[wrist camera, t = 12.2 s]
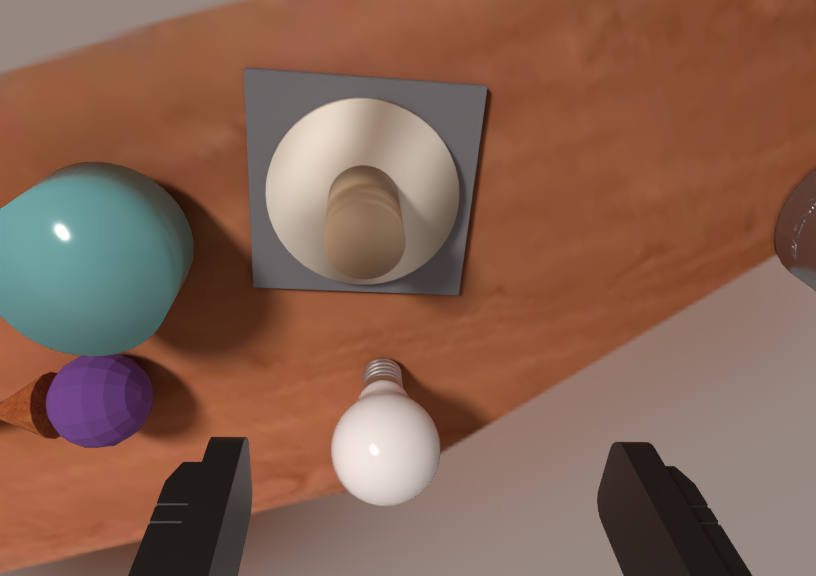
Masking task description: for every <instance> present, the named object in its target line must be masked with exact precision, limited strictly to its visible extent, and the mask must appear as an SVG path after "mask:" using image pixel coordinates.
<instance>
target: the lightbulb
mask: <svg viewBox="0 0 816 576" xmlns="http://www.w3.org/2000/svg"><path fill="white" fill-rule="evenodd" d="M362 376H363V391H362V393H361V394H360V396H359V399H358V401H357V402H355V403H354V404H353V405H352V406H350V407H349V408H348V409H347V410H346V411H345V413H344V414H343V415H342V417H341V418H340V420H339V421H338V423H337V425H336V428H335V430H334V433H333V437H332V443H331V457H332V463H333V467H334V470H335V472H336V474H337V477H338V478H339V480H340V482H341V483H342V485H343V486H344V487H345V488H346V489H347V490H348V491H349V492H350V493H351V494H352V495H353V496H355V497H357V498H358V499H360V500H362V501H364V502H366V503H369V504H372V505H378V506H393V505H398V504H402V503H404V502H407V501H409V500H411V499H413V498H414V497H416V496H417V495H418V494H420V493H421V492H422V491H423V490H424V489H425V488H426V487H427V486H428V484H429V483H430V482H431V480H432V478H433V477H434V475H435V472H436V470H437V467H438V463H439V459H440V439H439V434H438V431H437V428H436V426H435V423H434V422H433V420H432V418H431V417H430V415H429V414H428V413H427V411H426V410H425V409H424V408H423V407H422V406H421V405H419V404H418V403H417V402H415V401H414V400H412V399H410V398H409V397H408V395H407V393H406V392H405V390H404V389H403V383H402V374H401V369H400V367H399V365H398V364H397V363H395V362H394V361H392V360H389V359H383V358H382V359H376V360H373V361H371V362H369V363H368V364H367V365H366V366H365V368H364V370H363V374H362Z"/></svg>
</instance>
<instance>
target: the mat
mask: <svg viewBox="0 0 816 576" xmlns="http://www.w3.org/2000/svg"><path fill="white" fill-rule="evenodd" d="M244 86H245V109H246V132H247V155H248V178H249V201H250V223H251V246H252V269H253V287H254V288H280V289H307V290H333V291H359V292H386V293H412V294H438V295H459V289H460V282H461V275H462V267H463V260H464V253H465V246H466V238H467V231H468V224H469V217H470V209H471V202H472V195H473V188H474V181H475V173H476V166H477V159H478V152H479V144H480V137H481V130H482V123H483V116H484V108H485V101H486V94H487V86H486V85H479V84H465V83H451V82H438V81H424V80H410V79H397V78H383V77H370V76H356V75H342V74H329V73H315V72H301V71H288V70H274V69H261V68H247V67H246V68H244ZM352 97H371V98H378V99H383V100H387V101H391V102H394V103H397V104H399V105H401V106H404V107H406V108H408V109H409V110H411V111H413V112H414V113H416V114H418V115H419V116H420V117H422V118H423V119H424V120H425V121H427V122H428V123H429V124H430V125H431V126H432V127H433V129H434V130H435V131H436V132H437V133H438V134H439V136H440V137H441V139H442V140H443V141H444V143H445V145H446V147H447V149H448V151H449V153H450V155H451V157H452V160H453V162H454V165H455V168H456V171H457V176H458V181H459V206H458V211H457V216H456V219H455V222H454V225H453V228H452V230H451V232H450V234H449V236H448V238H447V239H446V241H445V242H444V244H443V245H442V247H441V248H440V249H439V250H438V251H437V253H436V254H435V255H434V256H433V257H432V258H431V259H430V260H428V261H427V262H426V263H425V264H424V265H422V266H421V267H419V268H418V269H416V270H415V271H413V272H411V273H409V274H407V275H405V276H403V277H400V278H398V279H395V280H392V281H388V282H384V283H377V284H362V285H359V284H349V283H344V282H339V281H335V280H332V279H329V278H326V277H324V276H322V275H320V274H317V273H315V272H314V271H312V270H310V269H309V268H307V267H306V266H304V265H303V264H302V263H300V262H299V261H298V260H297V259H296V258H294V256H293V255H292V254H291V253H290V252H289V251H288V250H287V249H286V248H285V246H284V245H283V244H282V242H281V241H280V239H279V238H278V236H277V234H276V232H275V230H274V228H273V226H272V223H271V220H270V218H269V214H268V209H267V204H266V180H267V174H268V169H269V166H270V163H271V160H272V158H273V155H274V153H275V151H276V149H277V147H278V145H279V143H280V141H281V140H282V138H283V137H284V136H285V134H286V133H287V131H288V130H289V129H290V128H291V127H292V126H293V125H294V124H295V123H296V122H297V121H298V120H299V119H301V118H302V117H303V116H304V115H306V114H307V113H309V112H310V111H312V110H314V109H315V108H317V107H319V106H322V105H324V104H326V103H329V102H332V101H336V100H340V99H345V98H352Z"/></svg>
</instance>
